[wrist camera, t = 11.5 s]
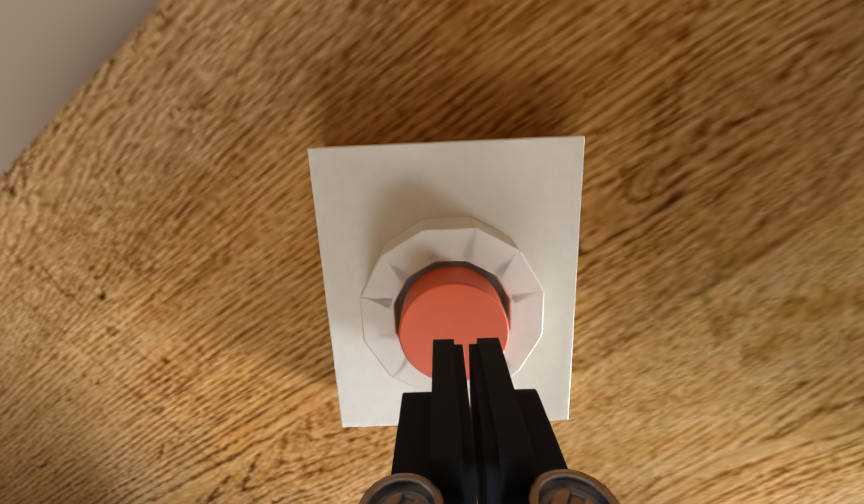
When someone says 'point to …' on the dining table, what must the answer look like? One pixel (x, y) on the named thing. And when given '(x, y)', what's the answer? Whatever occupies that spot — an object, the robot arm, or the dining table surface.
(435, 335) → the button
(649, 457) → the dining table surface
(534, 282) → the control block
